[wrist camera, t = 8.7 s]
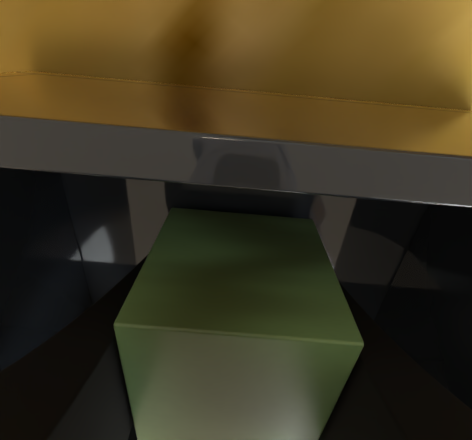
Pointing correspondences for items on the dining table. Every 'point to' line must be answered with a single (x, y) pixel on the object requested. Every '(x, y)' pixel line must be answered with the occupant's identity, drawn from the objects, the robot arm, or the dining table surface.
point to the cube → (235, 330)
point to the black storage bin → (234, 198)
